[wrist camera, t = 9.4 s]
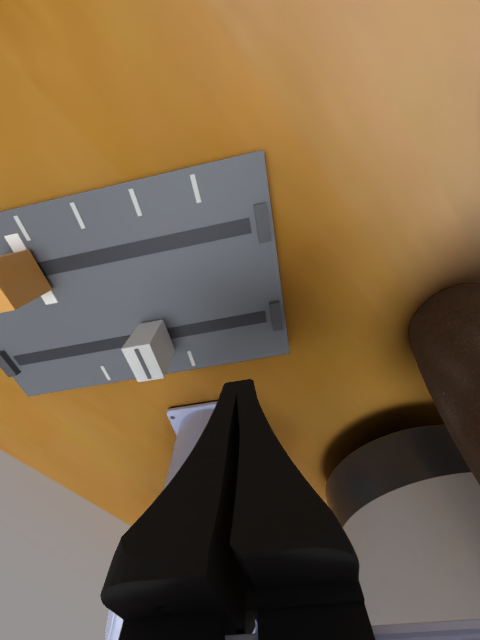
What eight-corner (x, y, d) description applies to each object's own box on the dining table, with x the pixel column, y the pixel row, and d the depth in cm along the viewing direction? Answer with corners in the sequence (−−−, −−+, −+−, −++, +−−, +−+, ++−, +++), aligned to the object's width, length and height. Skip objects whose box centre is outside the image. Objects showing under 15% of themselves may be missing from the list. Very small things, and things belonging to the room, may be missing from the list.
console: (286, 343, 23) (290, 356, 21) (39, 385, 25) (24, 400, 23) (261, 152, 16) (264, 148, 14) (-77, 232, 18) (-110, 237, 17)
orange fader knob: (52, 289, 19) (14, 310, 15) (27, 294, 19) (-15, 316, 16) (28, 249, 17) (-19, 263, 14) (2, 255, 17) (-51, 270, 14)
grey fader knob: (175, 350, 21) (164, 378, 18) (152, 353, 21) (137, 383, 18) (163, 319, 20) (148, 344, 17) (139, 323, 20) (120, 349, 17)
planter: (286, 458, 31) (335, 733, 15) (434, 370, 25) (773, 686, 9) (370, 514, 38) (465, 748, 22) (505, 455, 31) (776, 727, 15)
